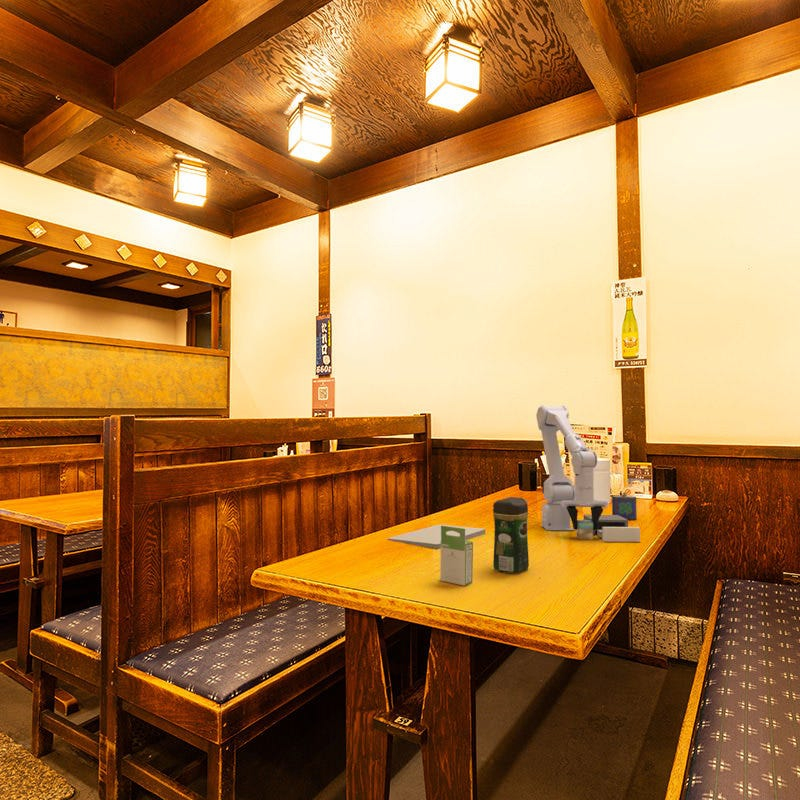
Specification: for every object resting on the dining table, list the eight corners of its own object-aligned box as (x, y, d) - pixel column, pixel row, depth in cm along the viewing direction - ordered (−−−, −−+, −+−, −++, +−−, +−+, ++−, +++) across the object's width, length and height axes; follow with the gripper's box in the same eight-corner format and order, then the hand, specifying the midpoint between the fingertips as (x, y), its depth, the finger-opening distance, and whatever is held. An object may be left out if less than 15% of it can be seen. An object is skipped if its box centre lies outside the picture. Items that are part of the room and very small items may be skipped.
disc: (578, 529, 174) (578, 522, 174) (573, 525, 180) (573, 519, 180) (595, 529, 174) (595, 523, 174) (590, 525, 180) (590, 519, 180)
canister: (586, 498, 264) (585, 457, 264) (617, 502, 252) (616, 459, 252) (567, 501, 253) (567, 458, 254) (599, 505, 241) (598, 461, 242)
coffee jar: (505, 563, 147) (505, 494, 147) (532, 568, 142) (532, 497, 143) (488, 570, 139) (488, 498, 140) (516, 576, 134) (516, 501, 135)
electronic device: (437, 551, 161) (437, 544, 162) (386, 541, 174) (386, 534, 174) (486, 534, 184) (486, 528, 184) (438, 527, 196) (438, 521, 196)
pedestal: (580, 539, 175) (580, 528, 175) (576, 536, 179) (576, 526, 179) (592, 539, 175) (592, 528, 175) (588, 536, 179) (588, 526, 179)
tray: (603, 541, 172) (603, 527, 172) (593, 535, 181) (593, 521, 181) (640, 541, 171) (639, 527, 172) (628, 535, 180) (628, 522, 181)
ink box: (473, 582, 129) (473, 526, 130) (464, 586, 126) (464, 529, 127) (448, 577, 134) (448, 522, 134) (439, 581, 130) (440, 525, 131)
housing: (592, 535, 181) (592, 519, 182) (583, 529, 190) (583, 514, 191) (628, 535, 181) (628, 519, 181) (617, 529, 190) (617, 515, 190)
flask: (635, 519, 211) (634, 491, 211) (638, 520, 208) (637, 492, 208) (611, 518, 211) (610, 491, 211) (613, 520, 208) (613, 492, 209)
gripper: (565, 489, 174) (565, 531, 173) (611, 489, 173) (611, 532, 173) (559, 486, 181) (559, 527, 180) (603, 486, 180) (603, 527, 180)
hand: (584, 529), depth 177 cm, fingers closed on disc, 5 cm apart
